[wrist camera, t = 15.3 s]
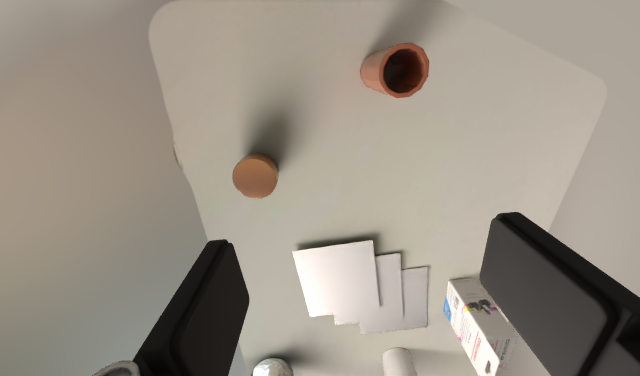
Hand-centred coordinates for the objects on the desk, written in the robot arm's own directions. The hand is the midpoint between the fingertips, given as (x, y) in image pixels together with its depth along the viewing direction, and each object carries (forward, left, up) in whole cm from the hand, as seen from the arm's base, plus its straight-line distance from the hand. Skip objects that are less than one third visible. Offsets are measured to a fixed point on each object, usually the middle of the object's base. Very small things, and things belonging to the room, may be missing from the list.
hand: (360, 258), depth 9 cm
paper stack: (+33, +4, -28) cm, 44 cm away
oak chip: (+6, -11, -26) cm, 29 cm away
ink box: (+36, +22, -28) cm, 51 cm away
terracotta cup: (-6, +7, -28) cm, 30 cm away
